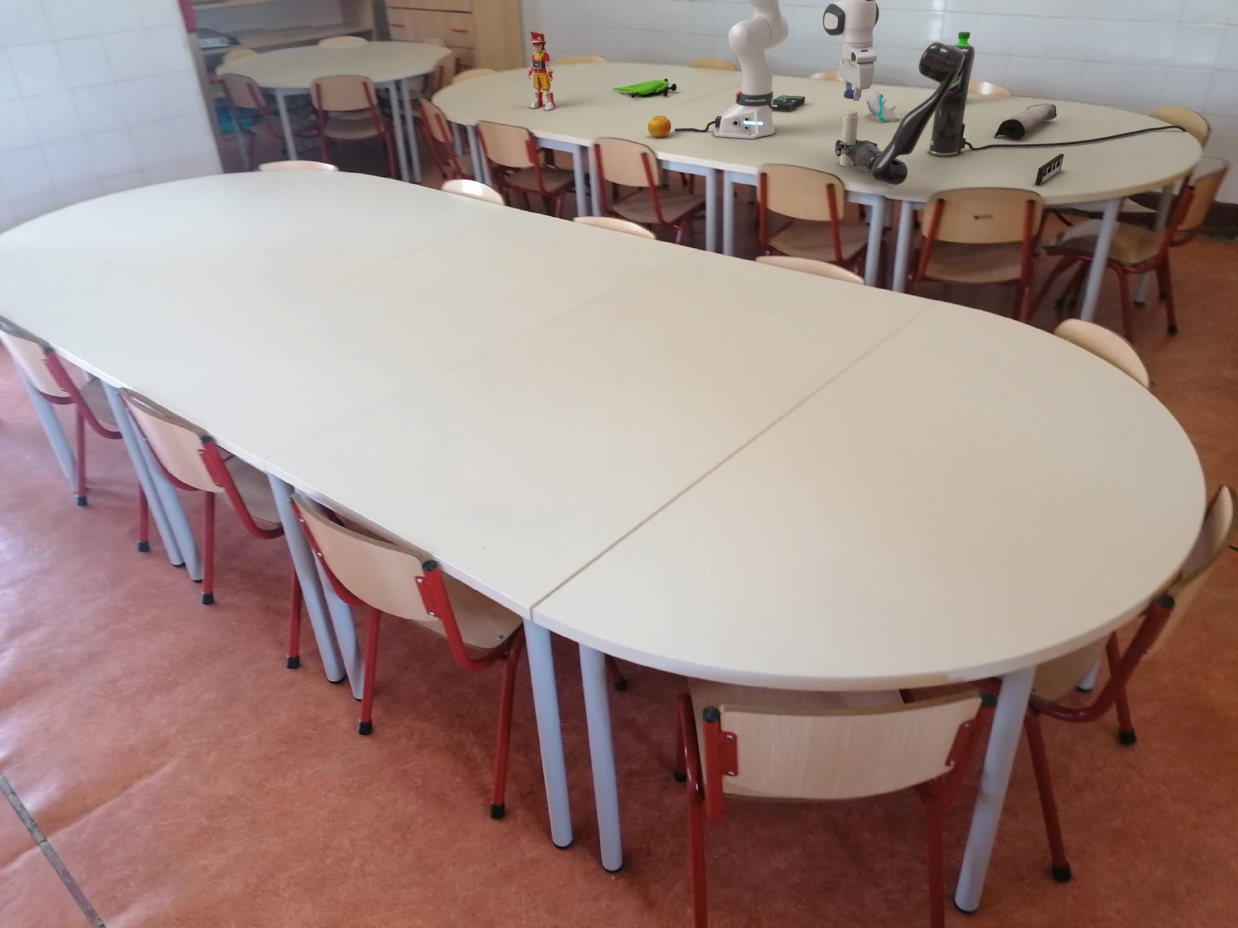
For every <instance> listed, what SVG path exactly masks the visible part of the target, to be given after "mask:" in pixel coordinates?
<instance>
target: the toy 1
mask: <svg viewBox="0 0 1238 928" xmlns="http://www.w3.org/2000/svg"><path fill="white" fill-rule="evenodd" d="M529 33H530V35H531V36H528V37H527V38H528V39H529V40H528V41H527V43H529V44H530V43H531V44H532V48H533V50H534V51H533V52H532V55H531V58H530V59H531V63H530V66H528V74H527V75H528V76H527V77H528V79H529V80H531V75H532V74H533V84H532V85H533V86H532V87H533V88H534V89H535V90H536V92H534V95H535V97H536V100H535V101H533V102H531V105H530V108H531V109H535V108H538V107H542V106H544V101H543V100H544V99H543V95H544V92H546V94H545V97H546V99H547V103H546V104H545V106H544V110H546V111H549V110H553V109H554V107H555V106H556V105H555V99H554V92H551V91H550V90H551V86H552V84H551V82H552V81H553V80H554V77H553V73H554V71H555V70H554V69H552V68H551V63H550V61H551V59H550V58H551V57H550V54H549V53H548V52H547V50H546V48H545V46H546V44H547V41H545V35H544V33H543V32H542V33H539V32H535V31H529Z"/></svg>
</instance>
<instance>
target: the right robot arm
mask: <svg viewBox="0 0 1238 928" xmlns="http://www.w3.org/2000/svg"><path fill="white" fill-rule="evenodd" d="M974 55H975V56H976V51H975V48H974V46H973V45H971V46H967V45H956V44H944V43H943V42H939V41H935V42H932V43H931V44H929V45H928V46H927V47H926V48H925V50H924V51H923V53H922V55H921V57H920V59H919V63H918V73H919V74H920V75H921V76H923V77H925V78H927V79H929V80H931V81H933V82H936V83H938V86H937V87H936V89H935V91H933V93H931V95H930V96H929V97H927V98H926V99H925V100H924V101H923V102H922V103H920V104H919V105H917V106H916V107H914V108H912V109H911V110H910V111H909V112H908V113H907V114H905V115H904V117H903V118H902V119H901V121H900V122H899V124H898V125H897V128H896V130H895V132H894V134H893V136H892V138H891V140H890V142H888V144H887V145H886V147H885V148H884V149H883V150H881V149H880V148H879V147H878V143H876V142H873V141H870V140H867V139H865V140H861V139H860V140H859V139H858V138H857V139H856V144H852V143H848V142H847V143H843V142H842V139H841V140H840V139H837V140H836V141H835V145H834V147H835V148H834V153H835V155H836V157H840V156H841V155H842V154H846V155H847V156H850V158H851V160H852V162H853V163H854V165H856V166H857V167H858V168H860V169H862V170H863V171H866V172H868V173H869V174H871V177H872V179H874V181H876V182H877V181H878V182H881V183H884V184H888V185H892V186H899V185H900V184H902V183H904V182H905V181H906V179H907V177H908V173H909V170H908V167H907V166H908V165H907V164H906V163H905V162H904V161H903V160H900V159H898V157H900V156H909V155H911V154H912V153H913V151H914V149H915V148H916V146H917V144H918V142H919V140H920V138H921V136H922V134H923V133H924V130H925V128H926V126H927V125H928V123H929V121H930V120H931V118H932V117H933V121H932V122H933V123H932V129H931V136H930V139H929V144H930V145H929V149H928V153H929V154H931V156H932V155H933V156H936V157H953V156H956V155H959V154H962V150H964V149H965V148H966V145H967V146H968V148H969V150H971V151H981V150H982V151H983V150H986V149H989V148H1035V147H1037V148H1038V147H1039V148H1040V147H1058V146H1070V145H1078V144H1079V145H1080V144H1087V143H1094V142H1099V141H1105V140H1106V141H1107V140H1110V139H1115V138H1121V137H1126V136H1130V135H1131V136H1132V135H1136V134H1142V133H1145V132H1153V131H1154V132H1155V131H1163V130H1168V129H1177V130H1180V131H1182V132H1184V133H1187V132H1188V131H1187V130H1186V128H1184V127H1183V126H1181V125H1177V124H1176V125H1175V124H1174V125H1165V126H1159V127H1149V128H1144V129H1138V130H1133V131H1128V132H1123V133H1119V134H1113V135H1108V136H1103V137H1097V138H1091V139H1084V140H1083V139H1082V140H1075V141H1074V140H1073V141H1066V142H1048V143H1014V144H1012V143H996V144H986V145H984V146H980V147H973V145H972V143H971V142H969V141H967V138H966V137H964V135H965V129H966V124H965V122H964V117H965V113H966V112H965V111H966V106H967V105H966V104H967V99H968V95H967V93H968V94H969V86H970V81H971V76H972V70H973V66H974V62H975V58H974ZM956 77H960V79H959V81H957V82H956V83H954V84H952V83H953V82H954V80H955V78H956ZM933 115H934V116H933ZM843 147H844V149H843Z"/></svg>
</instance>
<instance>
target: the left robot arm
mask: <svg viewBox="0 0 1238 928" xmlns="http://www.w3.org/2000/svg"><path fill="white" fill-rule="evenodd" d="M746 1H747V3H749V4H750V6H751V9H752V13H753V15H752V16H753V17H752V18H747V19H743V20H741V21H739V22H738V23H736V24H734V25H733V26H731V28H730V29H729V32H728V35H727V41H728V46H729V48H730V50H731V51H732V52H733V53H734V54H735V55H736V57H737V59H738V61H739V66H740V69H741V70H740V71H741V90H737V91H736V92H735V103H734V104H733V105H732V106H730V107H729V108H727V110H726V111H724V113H722V114H721V115H717V116H716V117H715V119H714V120H712V121H710V122H708V123H707V124H706V127H705V128H704V129H699V128H693V127H680V128H674V132H697V133H706V132H708V131H709V129H710V126H711V125H714V130H713V135H714V136H715V137H721V138H722V137H723V138H736V139H737V138H738V139H750V140H753V139H754V140H755V139H758V138H761V137H766V136H770V135H773V134H774V133H775V132H776V131H775V127H774V120H773V110H772V106H773V100H774V91H773V77H774V76H773V75H774V71H773V67H772V65H770V64H769V63H768V62H767V60H766V55H765V50H769V49H772V48H773V49H774V48H776V47H777V46H780V45H781V44H782V43H783V42H785V40H786V39H787V37H788V36H789V24H788V21H787V19H786V17H784V16H783V14H782V12H781V8H780V2H779V0H746ZM879 18H880V8H879V6H878V3H877V0H838V1H835V2H832V3H830V4H828V5H827V6H826V8H825V10H824V12H823V15H822V26H823V29H824V31H825V33H826V34H827V35H829V36H831V37H832V36H833V37H840V36H843V44H842V53H841V55H840V59H839V66H838V76H839V77H840V78H841V79H843V80H845V81H844V87H845V91H847V90H855V92H854V94H853V99H852V101H854V102H859V101H860V100H861V99H860V98H861V97H860V94H861V95H862V92H863V90H869V89H870V88H871V87H872V84H873V79H874V72H875V64H874V63H876V62H877V57H878V56H877V52H876V51H875V49H874V46H873V44H874V34H873V33H874V29H875V27H876V25H877V23H878V22H879ZM853 86H854V89H853Z"/></svg>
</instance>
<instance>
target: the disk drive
mask: <svg viewBox="0 0 1238 928" xmlns="http://www.w3.org/2000/svg"><path fill="white" fill-rule="evenodd" d="M805 103H806V96H802V95H801V96H800V95H787V94H782V95H779V96H778V97H775V98H773V106H772V111H778V112H779V111H781V112H792V111H793V110H795V109H797V108H799V107H801V106H802V105H803V104H805Z"/></svg>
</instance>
